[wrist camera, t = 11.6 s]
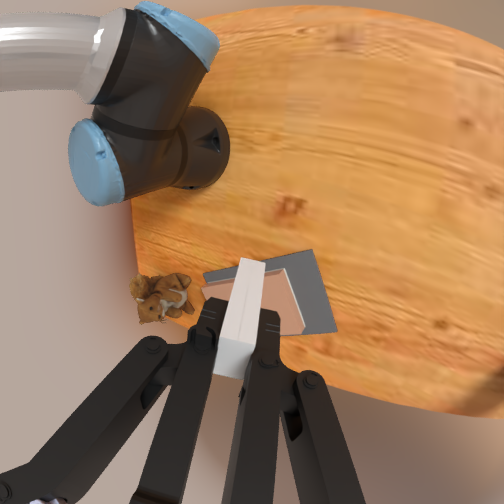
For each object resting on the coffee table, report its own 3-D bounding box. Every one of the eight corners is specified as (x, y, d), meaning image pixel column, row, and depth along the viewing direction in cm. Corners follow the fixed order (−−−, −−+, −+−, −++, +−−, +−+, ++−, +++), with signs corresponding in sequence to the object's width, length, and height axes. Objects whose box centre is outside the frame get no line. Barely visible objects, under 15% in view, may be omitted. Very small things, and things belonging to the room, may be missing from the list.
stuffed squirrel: (197, 314, 62) (160, 346, 52) (155, 291, 67) (118, 316, 57) (198, 279, 58) (155, 310, 47) (152, 258, 63) (110, 281, 52)
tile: (278, 274, 44) (200, 287, 54) (301, 334, 46) (224, 336, 56) (284, 267, 46) (207, 282, 56) (305, 326, 48) (230, 330, 58)
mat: (312, 249, 43) (311, 250, 42) (337, 330, 46) (336, 332, 46) (203, 273, 56) (202, 273, 56) (233, 336, 59) (232, 337, 59)
